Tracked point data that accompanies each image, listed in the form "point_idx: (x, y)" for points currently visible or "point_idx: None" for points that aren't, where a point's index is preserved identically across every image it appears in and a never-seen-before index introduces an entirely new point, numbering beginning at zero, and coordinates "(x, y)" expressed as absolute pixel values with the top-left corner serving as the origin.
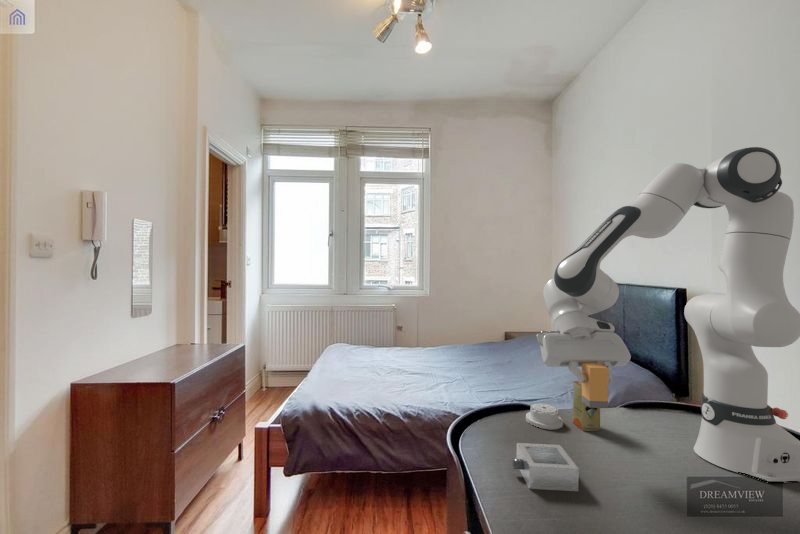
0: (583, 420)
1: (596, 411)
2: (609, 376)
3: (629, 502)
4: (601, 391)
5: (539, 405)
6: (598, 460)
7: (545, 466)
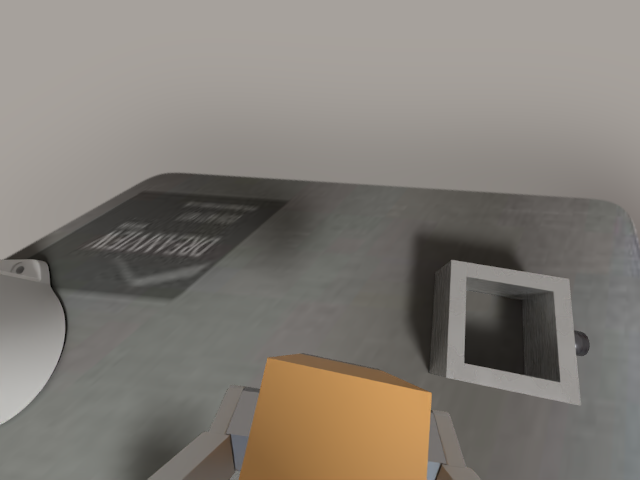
0: None
1: None
2: (236, 404)
3: (357, 236)
4: (328, 361)
5: None
6: None
7: (529, 274)
